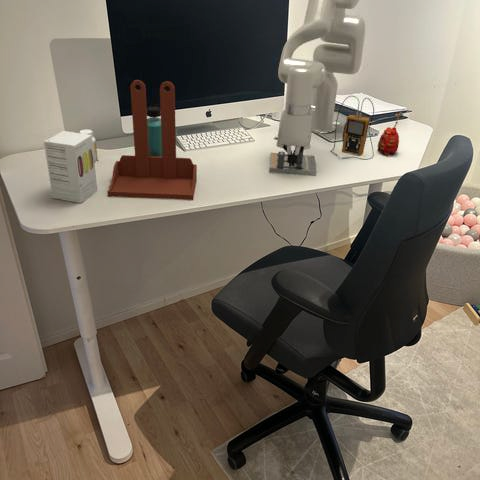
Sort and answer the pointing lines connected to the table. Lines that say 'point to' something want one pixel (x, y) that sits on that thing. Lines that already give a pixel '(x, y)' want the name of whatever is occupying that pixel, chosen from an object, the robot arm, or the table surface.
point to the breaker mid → (300, 157)
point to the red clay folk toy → (389, 141)
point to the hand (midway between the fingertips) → (291, 164)
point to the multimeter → (355, 133)
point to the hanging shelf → (148, 167)
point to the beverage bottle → (154, 132)
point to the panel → (299, 168)
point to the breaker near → (281, 159)
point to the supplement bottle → (92, 142)
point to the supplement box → (71, 166)
